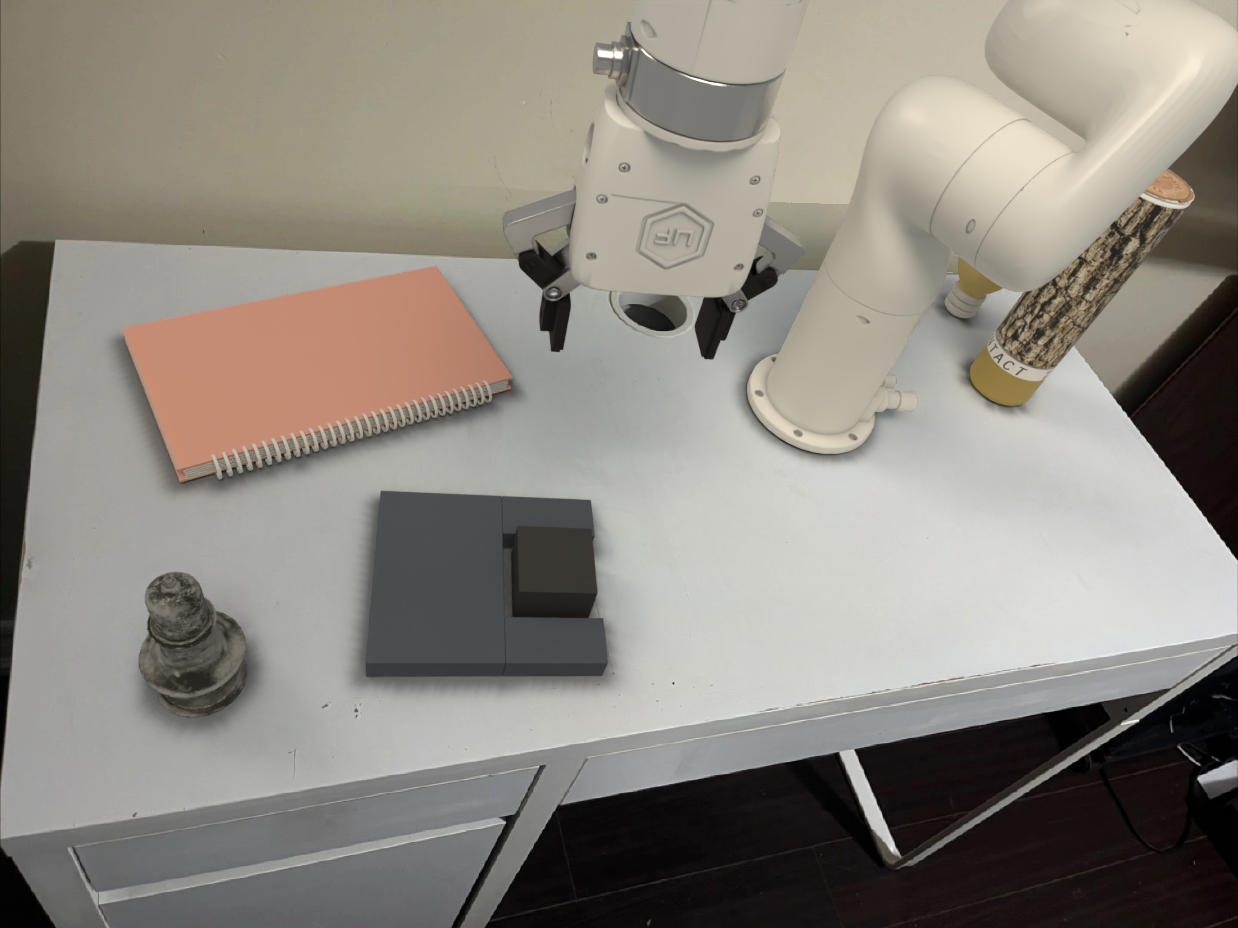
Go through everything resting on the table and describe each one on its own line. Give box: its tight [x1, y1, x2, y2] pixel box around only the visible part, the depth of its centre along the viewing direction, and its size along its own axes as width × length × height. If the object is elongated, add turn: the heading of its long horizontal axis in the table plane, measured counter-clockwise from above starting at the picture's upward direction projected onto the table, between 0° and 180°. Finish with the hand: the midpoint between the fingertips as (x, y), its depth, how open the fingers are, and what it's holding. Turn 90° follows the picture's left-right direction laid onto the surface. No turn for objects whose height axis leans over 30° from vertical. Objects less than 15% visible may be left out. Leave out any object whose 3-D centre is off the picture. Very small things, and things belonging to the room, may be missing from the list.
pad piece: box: [510, 526, 599, 618], centre depth 63 cm, size 6×6×4 cm
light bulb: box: [944, 256, 1004, 319], centre depth 95 cm, size 6×6×10 cm
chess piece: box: [138, 571, 248, 718], centre depth 50 cm, size 6×6×12 cm
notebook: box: [121, 265, 514, 483], centre depth 72 cm, size 27×17×2 cm, turn 122°
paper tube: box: [969, 168, 1196, 407], centre depth 82 cm, size 7×7×25 cm
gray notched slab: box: [365, 490, 609, 678], centre depth 62 cm, size 16×14×2 cm
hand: (630, 340), depth 54 cm, fingers open, 9 cm apart
